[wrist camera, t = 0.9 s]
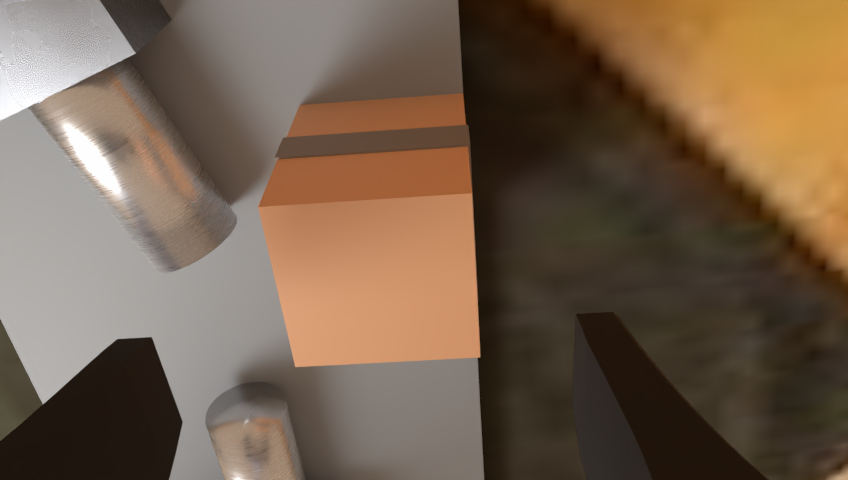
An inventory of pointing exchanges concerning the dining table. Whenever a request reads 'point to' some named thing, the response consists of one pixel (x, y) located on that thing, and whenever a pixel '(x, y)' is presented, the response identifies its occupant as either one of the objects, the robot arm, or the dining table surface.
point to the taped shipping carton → (375, 232)
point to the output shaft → (112, 120)
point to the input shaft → (254, 434)
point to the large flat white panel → (237, 239)
